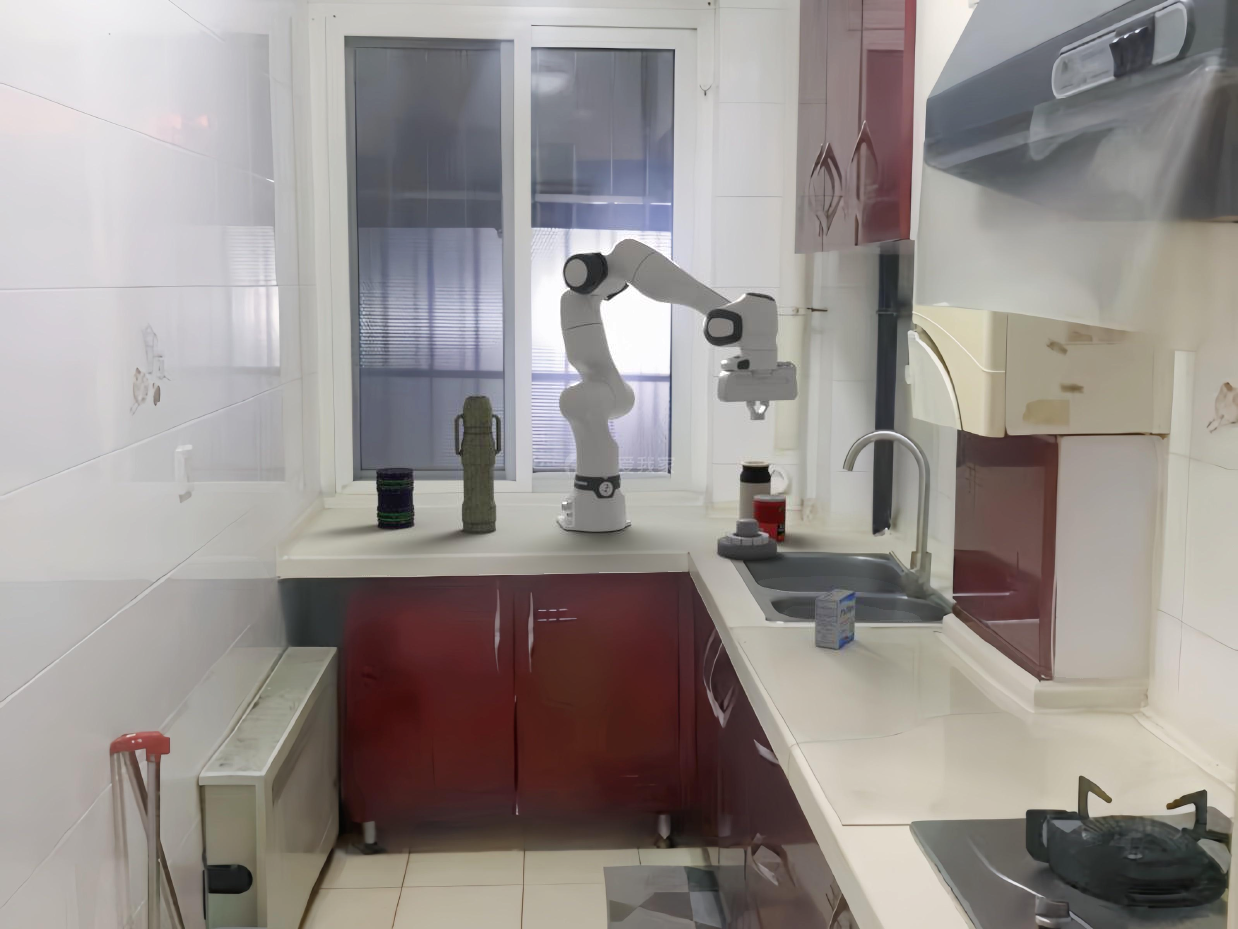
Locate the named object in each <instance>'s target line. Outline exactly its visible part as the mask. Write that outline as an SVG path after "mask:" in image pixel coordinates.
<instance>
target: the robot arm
mask: <svg viewBox="0 0 1238 929" xmlns="http://www.w3.org/2000/svg"><path fill="white" fill-rule="evenodd" d="M562 268H563V269H562V278H563V281H564V284H565V285H566V287H567V288H566V289H565V290H563V291H562V292H561V293H560V295H559V297H558V298H559V299H558V313H559V322H560V328H561V335H562V340H563V344H564V349H565V353H566V358H567V361H568V363H569V364H570V365H571V366H572V367H573V368H574V369H575V370H576V371H577V373H578V375H579V376H580V378H581V380H582V381H578V382H575V383H572V384H570V385H568V386H566V387H565V388H564V389H563V390H562V391H561V393H560V396H559V399H558V406H559V407H558V408H559V411H560V413H561V415H562V417H563V418H564V419H565V420H566V421H567V422H568V423H569V425H570V427H571V428H570V429H571V431H572V434H573V437H574V440H575V448H576V452H575V453H576V474H575V476H574V481H573V482H574V483H573V487H574V489H573V490H572V491H571V493H570V494H569V495H568V496H567V498H565V501H563V502H561V511H563V512H564V514H563V515H558V516H557V517H556V521H557V522H558V524H559V525H560V526H561V527H562V529H564V530H567V531H580V532H581V531H582V532H612V531H618V530H622V529H624V528H625V527H629V526H631V525H632V521H631V520H629V519H627V509H626V508H627V507H626V497H625V494H624V493H623V491H621V489H620V488H621V483H622V482H621V481H622V480H621V474H620V473H619V472H620V467H619V466H620V465H619V464H620V463H619V461H620V456H619V455H620V454H619V453H620V452H619V451H620V447H619V444H618V442H617V441H616V440H615V439H614V438H613V436H612V434H611V430H610V426H609V421H614V420H618V419H620V418H622V417H624V416H626V415H627V414H629V413H630V412H631V411H632V409H633V408H634V406H635V401H636V396H635V392H634V389H633V387H632V386H631V385H630V384H629V383H628V382H626V380H625V379H624V378H623V377H622V375H621V373H620V371H619V370H618V368H617V366H616V364H615V361H614V359H613V358H612V355H611V352H610V348H609V343H608V340H607V339H608V338H607V335H606V330H605V327H604V326H605V325H604V322H603V317H602V311H601V306H602V303H603V301H605V302H606V301H607V302H609V301H611V300H612V299H614V298H615V297H616V296H618V295H619V294H620V295H621V293H623V292H624V291H626V290H627V289H628V288H629V287H632V288H633V289H634V290H635V291H636V292H638V293H639V294H641V295H642V296H645V297H647V298H648V299H650V300H653V301H655V302H660V303H665V304H666V303H667V304H675V305H680V306H685V307H688V308H691V309H693V310H696V311H697V312H699V313H700V314H702V315H704V319H703V321H702V322H703V323H702V332H703V335H704V338H705V339H706V340H707V342H708V343H709V344H710V345H712V346H715V347H718V348H739V349H740V350H739V353H738V354H737V355H734V356H731V357H729V358H726V359H723V360H722V361H721V362H720V369H721V370H722V371H721V372H720V374H719V376H718V382H717V398H718V400H719V401H720V402H723V403H736V402H737V403H739V402H742V403H743V402H745V406H746V407H747V410H748V411H749V413H750V420H751V421H764V420H765V418H766V415H765V414H766V412H767V410H768V409H769V407H770V401H772V402H773V401H775V402H777V401H794V400H796V398H797V397H798V382H797V381H798V380H797V366H796V365H795V363H792V362H791V361H778V354H779V353H778V352H779V351H778V344H777V336H778V334H779V314H778V306H777V301H776V298H774V297H773V296H771V295H770V294H764V293H756V292H747V293H744V294H743V295H742V296H741V297H740V298H738V299H737V300H735V301H733V302H732V301H730V300H729V299H728V298H725V297H724V296H722V295H721V294H720V293H718V292H716V291H714V290H713V289H711V288H710V287H708V286H707V285H705V284H704V283H702V282H700V281H698V279H696V278H694V277H693V276H692V275H691V274H690V273H688V272H686V271H685V270H684V269H683V268H681V267H680V266H679V265H678V264H676V263H675V262H674V261H673V260H671V259H670V258H669V257H667V256H666V255H665V254H663V253H662V252H660V250H657V248H654V247H653V246H651V245H649V244H647V243H645V242H643V241H641V240H639V239H637V238H634V237H624V238H622V239H620V240H619V241H617V242H616V243H615V244H614V245H613V247H612V249H611V251H610V252H606V251H581V252H577V253H574V254H573V255H571V256H570V257H568V259H566V261H565V262H564V264H563V267H562ZM757 402H759V405H760V408H759V411H756V409H755V407H756V406H757V404H756V403H757Z"/></svg>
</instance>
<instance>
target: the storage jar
mask: <svg viewBox="0 0 1238 929" xmlns="http://www.w3.org/2000/svg"><path fill="white" fill-rule="evenodd" d="M375 474H376V476H375V477H376V478H375V479H376V480H375V485H376V492H377V506H376V518H377V528H379V529H383V530H404V529H405V530H406V529H411V528H413V527H415V505H414V491H415V490H414V489H415V487H414V483H415V480H414V469H413V468H409V467H386V468H381V469H380V468H379V469H376V470H375Z"/></svg>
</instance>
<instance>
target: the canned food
mask: <svg viewBox="0 0 1238 929" xmlns="http://www.w3.org/2000/svg"><path fill="white" fill-rule="evenodd" d="M786 511H787V498H786V496H784V495H781V494H773V493H772V494H761V495H756V496H754V519H755V520H757V521H758V522H759V526H758V532H764V533H767V534H769V538H772V539H775V540H776V541H777V543H782V542H784V541H785V539H786V520H787V519H786V516H787V515H786V514H787V512H786Z"/></svg>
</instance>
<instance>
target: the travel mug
mask: <svg viewBox="0 0 1238 929" xmlns="http://www.w3.org/2000/svg"><path fill="white" fill-rule="evenodd" d="M740 464H741V467H742V471H741V473H740V474H739V505H738V506H739V508H738V509H739V511H738V512H739V515H738V516H739V517H738V518H739V519H754V496H756V495H761V494H771V492H772V491H771V490H772V489H771V486H772V484H771V483H772V475H771V473H770V471H769V469H770V465H771V462H768V461H761V460H748V461H747V460H746V461H741V463H740ZM739 519H738V520H739Z"/></svg>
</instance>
